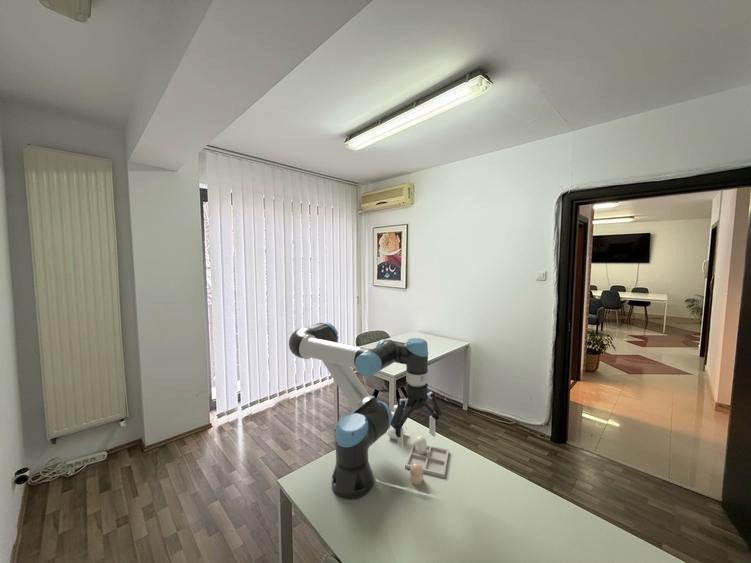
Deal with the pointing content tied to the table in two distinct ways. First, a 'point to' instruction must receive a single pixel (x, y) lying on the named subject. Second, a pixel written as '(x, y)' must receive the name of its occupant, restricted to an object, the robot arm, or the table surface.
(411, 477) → the egg
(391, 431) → the figurine
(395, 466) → the table surface
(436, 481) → the table surface
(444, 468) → the divided tray
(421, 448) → the resting egg
